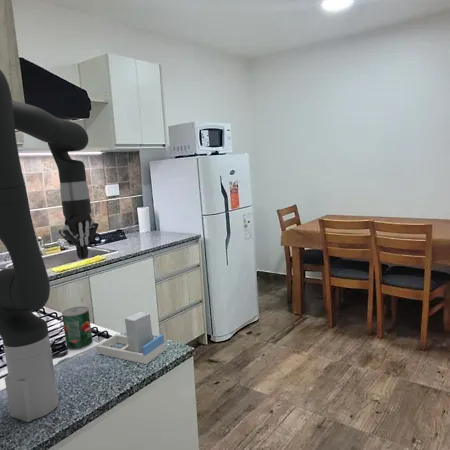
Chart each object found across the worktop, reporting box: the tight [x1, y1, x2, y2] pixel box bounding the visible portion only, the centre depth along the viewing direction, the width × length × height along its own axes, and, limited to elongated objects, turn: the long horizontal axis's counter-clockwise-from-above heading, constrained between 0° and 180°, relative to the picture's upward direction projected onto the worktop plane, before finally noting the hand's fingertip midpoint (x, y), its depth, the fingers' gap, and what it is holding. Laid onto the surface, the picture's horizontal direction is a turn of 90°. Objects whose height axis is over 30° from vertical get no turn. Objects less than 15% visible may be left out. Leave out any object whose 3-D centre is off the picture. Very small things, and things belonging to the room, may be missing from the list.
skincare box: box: [124, 311, 154, 353], centre depth 114 cm, size 6×4×12 cm
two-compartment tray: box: [95, 333, 166, 365], centre depth 117 cm, size 9×19×5 cm, turn 62°
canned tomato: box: [61, 305, 94, 351], centre depth 125 cm, size 8×8×11 cm
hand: (83, 258), depth 114 cm, fingers closed
